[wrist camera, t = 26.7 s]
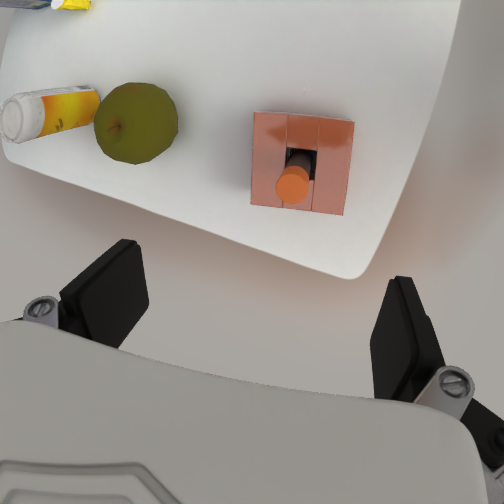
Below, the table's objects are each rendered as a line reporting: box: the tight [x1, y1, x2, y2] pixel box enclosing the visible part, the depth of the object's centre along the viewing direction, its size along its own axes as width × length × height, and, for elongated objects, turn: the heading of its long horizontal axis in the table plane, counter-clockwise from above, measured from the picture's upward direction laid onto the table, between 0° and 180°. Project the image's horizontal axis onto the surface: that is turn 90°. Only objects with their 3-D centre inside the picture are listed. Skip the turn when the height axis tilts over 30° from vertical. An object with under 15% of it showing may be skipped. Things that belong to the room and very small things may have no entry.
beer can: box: [0, 86, 100, 144], centre depth 31 cm, size 6×6×15 cm
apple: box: [94, 83, 178, 165], centre depth 32 cm, size 10×10×11 cm
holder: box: [251, 111, 354, 216], centre depth 34 cm, size 10×10×5 cm
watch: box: [51, 0, 91, 10], centre depth 27 cm, size 6×3×6 cm, turn 69°
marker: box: [275, 149, 312, 204], centre depth 30 cm, size 2×2×14 cm
